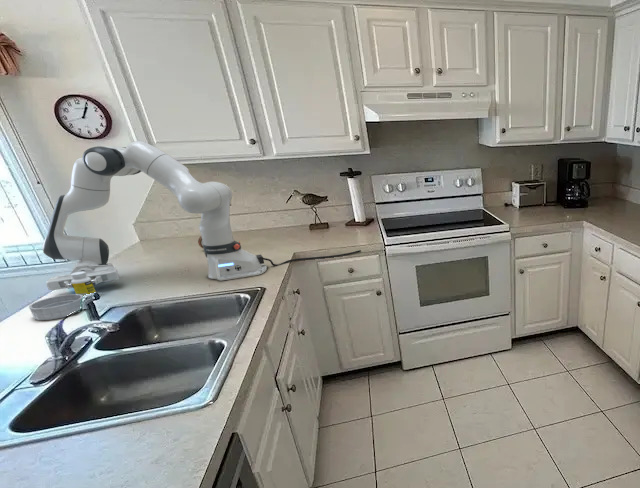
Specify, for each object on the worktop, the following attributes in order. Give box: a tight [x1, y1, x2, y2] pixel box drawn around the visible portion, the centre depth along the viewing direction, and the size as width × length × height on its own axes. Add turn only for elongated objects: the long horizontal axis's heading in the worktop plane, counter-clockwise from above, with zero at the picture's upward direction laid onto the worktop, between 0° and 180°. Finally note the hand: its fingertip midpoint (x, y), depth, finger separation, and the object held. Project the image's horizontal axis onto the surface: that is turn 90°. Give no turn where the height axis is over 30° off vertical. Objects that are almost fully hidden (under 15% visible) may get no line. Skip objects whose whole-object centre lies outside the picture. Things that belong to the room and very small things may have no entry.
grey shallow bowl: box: [28, 293, 83, 321], centre depth 143 cm, size 13×13×4 cm
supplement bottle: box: [71, 271, 97, 296], centre depth 155 cm, size 5×5×10 cm
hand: (82, 284), depth 154 cm, fingers closed on supplement bottle, 5 cm apart
